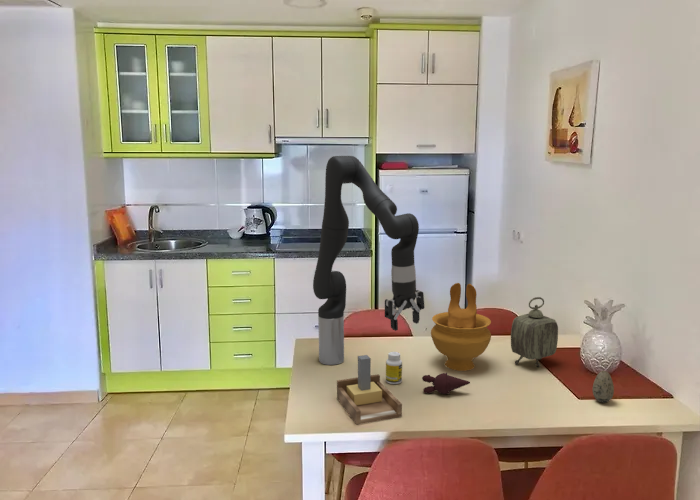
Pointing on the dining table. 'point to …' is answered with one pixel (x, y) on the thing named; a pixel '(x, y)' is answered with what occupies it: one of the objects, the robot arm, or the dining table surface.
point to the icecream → (443, 383)
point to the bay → (371, 411)
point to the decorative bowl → (461, 331)
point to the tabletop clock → (534, 335)
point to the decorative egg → (603, 387)
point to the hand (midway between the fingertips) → (405, 326)
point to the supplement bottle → (393, 368)
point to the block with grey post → (364, 384)
